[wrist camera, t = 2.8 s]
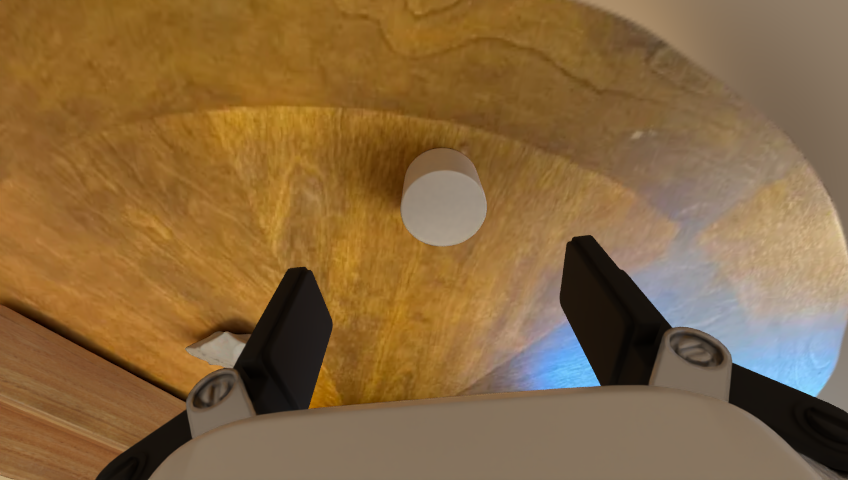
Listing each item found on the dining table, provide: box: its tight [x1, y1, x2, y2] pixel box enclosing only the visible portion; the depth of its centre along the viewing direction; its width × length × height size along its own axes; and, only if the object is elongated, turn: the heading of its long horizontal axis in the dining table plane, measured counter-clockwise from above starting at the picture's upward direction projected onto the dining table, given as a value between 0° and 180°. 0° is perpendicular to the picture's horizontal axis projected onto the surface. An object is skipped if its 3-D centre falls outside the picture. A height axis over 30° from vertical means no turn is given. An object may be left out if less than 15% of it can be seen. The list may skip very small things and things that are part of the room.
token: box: [400, 148, 487, 246], centre depth 18 cm, size 4×4×3 cm
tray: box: [0, 305, 186, 480], centre depth 32 cm, size 31×15×6 cm, turn 32°
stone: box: [185, 331, 251, 368], centre depth 26 cm, size 6×2×6 cm
